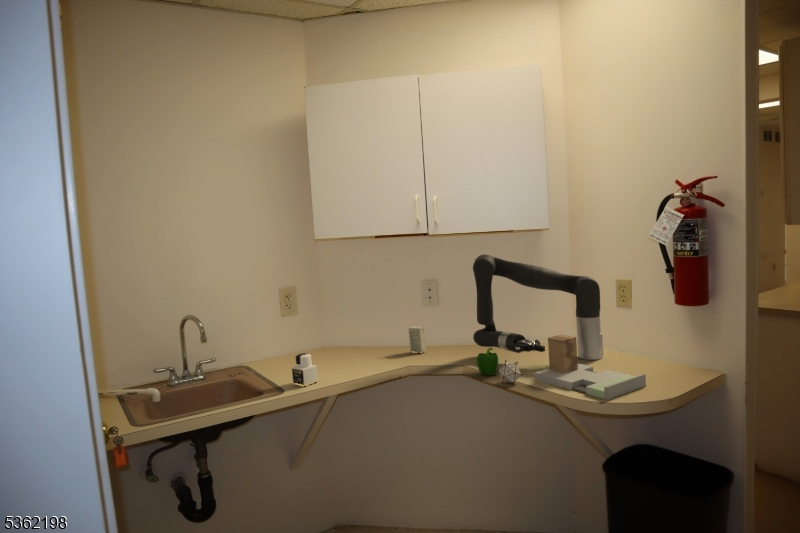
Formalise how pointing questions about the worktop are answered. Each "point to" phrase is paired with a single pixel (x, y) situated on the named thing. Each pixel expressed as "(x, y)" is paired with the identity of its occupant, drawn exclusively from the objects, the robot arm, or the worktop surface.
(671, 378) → the worktop surface
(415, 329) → the skincare box
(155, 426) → the worktop surface
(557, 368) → the walnut block
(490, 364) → the bell pepper
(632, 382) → the board
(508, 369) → the game die
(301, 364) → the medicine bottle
